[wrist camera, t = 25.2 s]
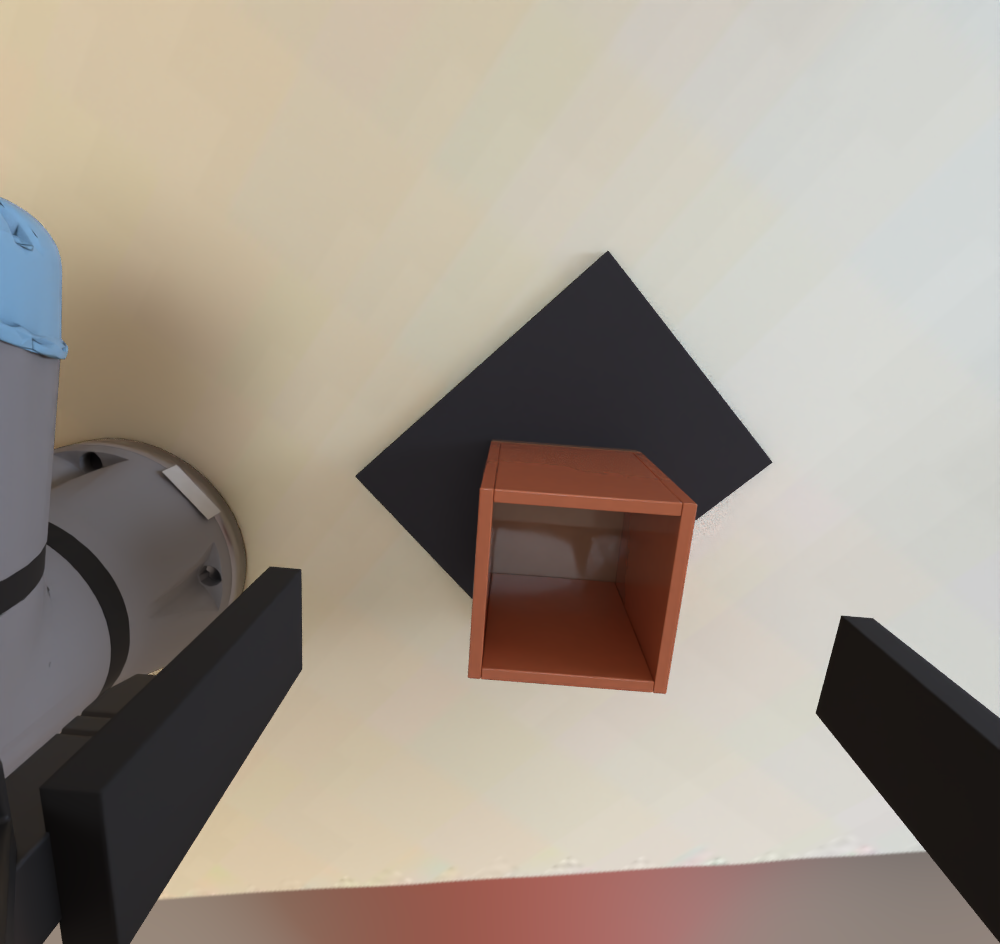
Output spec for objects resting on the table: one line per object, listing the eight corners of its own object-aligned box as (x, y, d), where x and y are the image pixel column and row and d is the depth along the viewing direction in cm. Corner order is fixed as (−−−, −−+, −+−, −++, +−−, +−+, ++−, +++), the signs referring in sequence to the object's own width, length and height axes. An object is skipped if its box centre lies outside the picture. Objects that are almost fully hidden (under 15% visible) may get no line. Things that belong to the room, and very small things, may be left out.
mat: (521, 648, 37) (521, 651, 37) (356, 474, 34) (355, 476, 34) (769, 461, 33) (773, 462, 33) (607, 251, 31) (608, 250, 30)
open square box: (482, 575, 35) (491, 438, 33) (620, 585, 35) (639, 449, 33) (467, 678, 25) (479, 488, 22) (666, 694, 25) (697, 504, 22)
